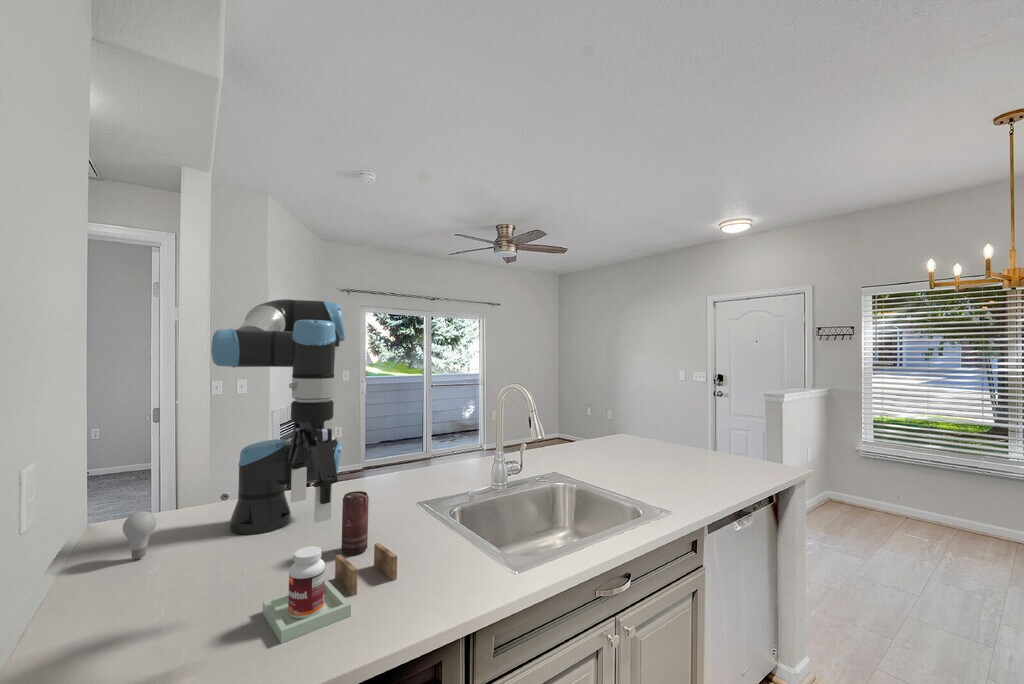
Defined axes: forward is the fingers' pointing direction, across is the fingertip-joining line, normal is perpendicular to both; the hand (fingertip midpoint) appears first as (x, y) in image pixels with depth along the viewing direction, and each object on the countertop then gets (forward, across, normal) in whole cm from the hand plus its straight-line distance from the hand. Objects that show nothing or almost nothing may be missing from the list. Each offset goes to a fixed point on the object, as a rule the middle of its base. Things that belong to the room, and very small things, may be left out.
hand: (309, 510), depth 85 cm
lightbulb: (+20, -48, -23) cm, 56 cm away
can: (+20, -19, +17) cm, 32 cm away
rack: (+19, -4, +13) cm, 24 cm away
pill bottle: (+19, +1, -1) cm, 19 cm away
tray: (+19, +2, -1) cm, 19 cm away
